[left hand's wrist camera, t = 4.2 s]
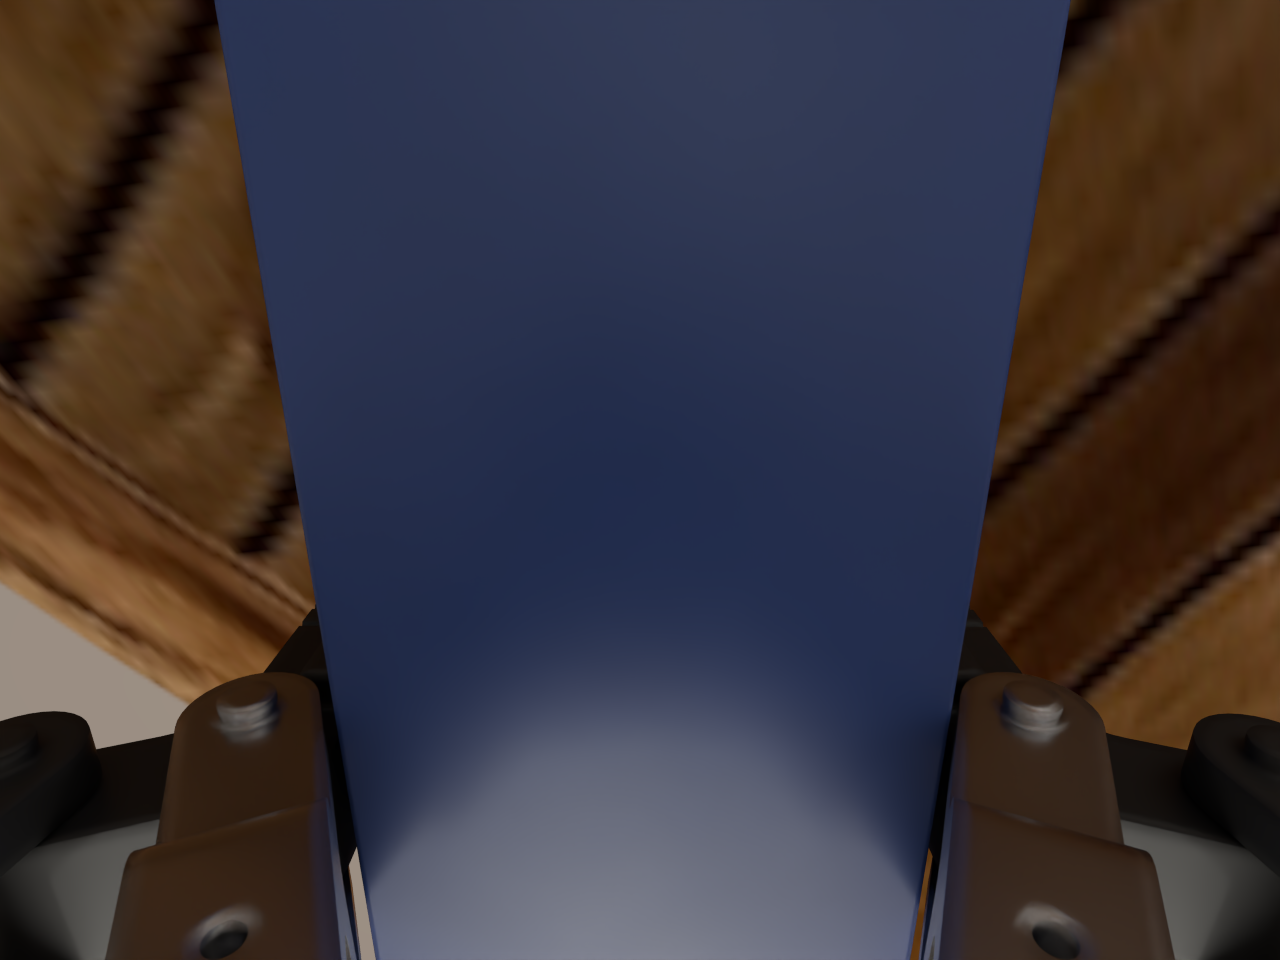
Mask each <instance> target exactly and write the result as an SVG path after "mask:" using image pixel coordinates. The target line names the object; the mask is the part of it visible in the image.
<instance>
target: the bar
mask: <svg viewBox="0 0 1280 960" xmlns="http://www.w3.org/2000/svg"><path fill="white" fill-rule="evenodd" d="M215 6H216V12H217V18H218V24H219V30H220V36H221V42H222V48H223V54H224V60H225V66H226V72H227V77H228V83H229V89H230V95H231V101H232V107H233V113H234V119H235V125H236V131H237V137H238V143H239V149H240V155H241V161H242V167H243V173H244V178H245V184H246V190H247V196H248V202H249V208H250V214H251V220H252V226H253V232H254V238H255V244H256V250H257V256H258V262H259V268H260V274H261V280H262V285H263V291H264V297H265V303H266V309H267V315H268V321H269V327H270V333H271V339H272V345H273V351H274V357H275V363H276V369H277V375H278V381H279V387H280V392H281V398H282V404H283V410H284V416H285V422H286V428H287V434H288V440H289V446H290V452H291V458H292V464H293V470H294V476H295V482H296V488H297V493H298V499H299V505H300V511H301V517H302V523H303V529H304V535H305V541H306V547H307V553H308V559H309V565H310V571H311V577H312V583H313V589H314V595H315V600H316V606H317V612H318V618H319V624H320V630H321V636H322V642H323V648H324V654H325V660H326V666H327V672H328V678H329V684H330V690H331V696H332V702H333V707H334V713H335V719H336V725H337V731H338V737H339V743H340V749H341V755H342V761H343V767H344V773H345V779H346V785H347V791H348V797H349V803H350V808H351V814H352V820H353V826H354V832H355V838H356V844H357V850H358V856H359V862H360V868H361V874H362V880H363V886H364V891H365V898H366V904H367V909H368V915H369V921H370V927H371V933H372V939H373V945H374V951H375V957H376V960H910V956H911V950H912V944H913V938H914V932H915V926H916V920H917V914H918V908H919V902H920V896H921V890H922V884H923V878H924V872H925V866H926V860H927V854H928V848H929V842H930V836H931V830H932V824H933V818H934V812H935V806H936V800H937V794H938V788H939V782H940V776H941V770H942V764H943V759H944V753H945V747H946V741H947V735H948V729H949V723H950V717H951V711H952V705H953V699H954V693H955V687H956V681H957V675H958V669H959V663H960V657H961V651H962V645H963V639H964V633H965V627H966V621H967V615H968V609H969V603H970V597H971V591H972V585H973V579H974V573H975V567H976V561H977V555H978V549H979V543H980V538H981V532H982V526H983V520H984V514H985V508H986V502H987V496H988V490H989V484H990V478H991V472H992V466H993V460H994V454H995V448H996V442H997V436H998V430H999V424H1000V418H1001V412H1002V406H1003V400H1004V394H1005V388H1006V382H1007V376H1008V370H1009V364H1010V358H1011V352H1012V346H1013V340H1014V334H1015V328H1016V323H1017V317H1018V311H1019V305H1020V299H1021V293H1022V287H1023V281H1024V275H1025V269H1026V263H1027V257H1028V251H1029V245H1030V239H1031V233H1032V227H1033V221H1034V215H1035V209H1036V203H1037V197H1038V191H1039V185H1040V179H1041V173H1042V167H1043V161H1044V155H1045V149H1046V143H1047V137H1048V131H1049V125H1050V119H1051V113H1052V107H1053V102H1054V96H1055V90H1056V84H1057V78H1058V72H1059V66H1060V60H1061V54H1062V48H1063V42H1064V36H1065V30H1066V24H1067V18H1068V12H1069V6H1070V0H215Z"/></svg>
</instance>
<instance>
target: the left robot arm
mask: <svg viewBox="0 0 1280 960" xmlns="http://www.w3.org/2000/svg"><path fill="white" fill-rule="evenodd" d="M356 847H357V844H356V838H355V832H354V826H353V820H352V814H351V808H350V803H349V797H348V791H347V785H346V779H345V773H344V767H343V761H342V755H341V749H340V743H339V737H338V731H337V725H336V719H335V713H334V707H333V702H332V696H331V690H330V684H329V678H328V672H327V666H326V660H325V654H324V648H323V642H322V636H321V630H320V624H319V618H318V612H317V606H316V605H315V609H312V610H311V611H310V612H309V614H308V615H307V616H306V618H305V619H304V620H303V624H302V626H299V627H298V628H297V629H296V631H295V632H294V633H293V635H292V636H291V637H290V639H289V640H288V641H287V643H286V644H285V645H284V646H283V648H282V649H281V650H280V652H279V653H278V654H277V656H276V657H275V658H274V660H273V661H272V662H271V663H270V665H269V666H268V667H267V669H266V670H265V671H264V673H260V674H254V675H249V676H245V677H241V678H238V679H235V680H232V681H229V682H226V683H224V684H222V685H220V686H217V687H215V688H213V689H212V690H210V691H208V692H206V693H204V694H203V695H201V696H200V697H199V698H197V699H196V700H195V701H193V702H192V703H191V704H190V705H189V706H188V707H187V708H186V709H185V710H184V711H183V712H182V714H181V715H180V717H179V719H178V720H177V723H176V726H175V731H174V734H169V735H165V736H161V737H156V738H151V739H146V740H141V741H136V742H131V743H126V744H121V745H116V746H111V747H106V748H101V749H96V747H95V744H94V741H93V737H92V734H91V731H90V727H89V725H88V723H87V721H86V720H84V719H83V718H82V717H80V716H78V715H76V714H73V713H68V712H58V711H51V712H38V713H31V714H26V715H21V716H17V717H13V718H10V719H6V720H3V721H0V960H361V953H360V945H359V937H358V929H357V920H356V912H355V904H354V896H353V888H352V881H351V875H350V869H349V863H350V861H351V859H352V857H353V854H354V852H355V849H356ZM929 849H930V851H931V853H932V856H933V858H932V864H931V869H930V875H929V881H928V888H927V896H926V904H925V912H924V920H923V929H922V937H921V945H920V953H919V960H1280V723H1279V722H1276V721H1273V720H1269V719H1265V718H1260V717H1256V716H1250V715H1243V714H1217V715H1212V716H1208V717H1206V718H1203V719H1201V720H1200V721H1199V722H1198V723H1197V724H1196V726H1195V728H1194V730H1193V733H1192V737H1191V740H1190V743H1189V746H1188V750H1183V749H1178V748H1173V747H1168V746H1163V745H1158V744H1153V743H1148V742H1143V741H1138V740H1133V739H1128V738H1124V737H1119V736H1115V735H1111V734H1108V733H1106V731H1105V726H1104V723H1103V720H1102V718H1101V717H1100V715H1099V714H1098V712H1097V711H1096V710H1095V709H1094V708H1093V707H1092V706H1091V705H1090V704H1089V703H1088V702H1087V701H1085V700H1084V699H1083V698H1081V697H1080V696H1079V695H1077V694H1076V693H1074V692H1072V691H1070V690H1068V689H1067V688H1065V687H1063V686H1060V685H1058V684H1056V683H1054V682H1051V681H1048V680H1045V679H1042V678H1039V677H1035V676H1031V675H1026V674H1022V673H1021V671H1020V670H1019V669H1018V667H1017V666H1016V665H1015V664H1014V662H1013V661H1012V660H1011V658H1010V657H1009V656H1008V655H1007V653H1006V652H1005V651H1004V649H1003V648H1002V647H1001V645H1000V644H999V643H998V642H997V640H996V639H995V638H994V636H993V635H992V634H991V633H990V631H989V630H988V629H987V627H983V622H982V621H981V620H980V618H979V617H978V616H977V615H976V613H975V612H974V611H973V610H970V606H969V609H968V615H967V621H966V627H965V633H964V639H963V645H962V651H961V657H960V663H959V669H958V675H957V681H956V687H955V693H954V699H953V705H952V711H951V717H950V723H949V729H948V735H947V741H946V747H945V753H944V759H943V764H942V770H941V776H940V782H939V788H938V794H937V800H936V806H935V812H934V818H933V824H932V830H931V836H930V842H929Z"/></svg>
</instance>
